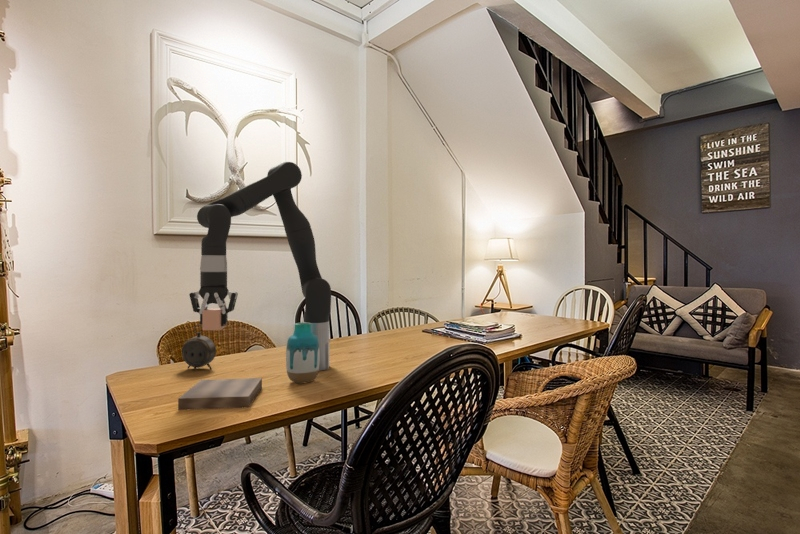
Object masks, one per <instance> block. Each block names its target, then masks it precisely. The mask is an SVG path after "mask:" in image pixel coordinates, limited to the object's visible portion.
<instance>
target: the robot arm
mask: <svg viewBox="0 0 800 534" xmlns="http://www.w3.org/2000/svg"><path fill="white" fill-rule="evenodd" d="M302 176H303V174H302V170H301V168H300V166H298V165H297V164H296V163H295V162H292V161H284V162H280V163H279V164H277V165H274V166H272V167H271V168H269V169H268V171H267V174H266V176H265V177H263V178H261V179H259V180H257V181H255V182H252V183H249V184H248V185H245V186H243V187H240V188H239V189H237V190H235V191H233V192H232V193H229V194H228V195H227V196H224V197H223V198H220V199H217V200H215V201H212V202H209V203H207V204H205V205H203V206H202V207H200V209H199V210H198V211H197V214H196V219H197V222H198V224H199V226H202V227H203V228H205V229H207V234H206V235H205V236H203V237H202V239H201V244H200V245H201V246H200V247H201V249H200V250H201V252H200V253H201V257H200V265H199V266H200V268H199V271H200V273H199V275H200V276H199V278H200V279H199V281H200V288H199V290H198V291H195V292H193V291H192V292H190V293H189V295H188V296H189V298H190V299H189V300H190V303H191V307H192V311H193V313H198V314H199V321H200V322H199V325H202V310H205V309H209V306H210V304H215V305H217V306H218V308H219V309H220V310H221V312H222V314H221V326H225V327H226V325H227V324H228V315H229V313H231V312H233V311H234V310H235V306H236V303H237V299H238V294H239V293H238V292H235V291H230V290H229V289H228V259H227V241H228V238H229V233H230V230H231V224H232V218H233V217H238V216H241V215H243V214H245V213H246V212H248V211H249V210H251V209H253V208H254V207H255V206H257V205H259V204H260V203H262V202H264V201H266V200H267V199H269V198H270V197H272V196H273V198H274V201H275V203H276V206H277V209H278V211H279V215H280V218H281V222H282V224H283V227H284V232H285V236H286V239H287V242H288V245H289V248H290V251H291V254H292V257H293V260H294V261H295V264H296V267H297V268H296V269H297V271H298V274H299V276H298V277H299V280H300V285H301V286H300V287H301V292H302V295H303V297H304V298H305V310H304V314H303V322H307V323H311V325H312V333H313V334H314V335H316V336H317V338H318V340H319V350H320V361H319V372H320V371H325V370H327V371H328V370H329V369H330V316H331V312H332V310H331V308H332V307H331V306H332V289H331V284H330V283H329V282H328V281H327V280H326V279H325V278H323V277H322V275H321V273H320V269H319V267H318V264H317V254H316V243H315V236H314V233H313V229H312V226H311V224H310V222H309V219H308V218H307V217H306V215H305V214H304V213H303V212H302V211H301V210H300V208H299V207H298V206H297V204H296V202H295V199H294V197H293V194H292V193H293V192H292V189H293V188H296V187H297V186H299V184H300V183H301V181H302ZM227 296H228V299H229V302H228V307H227V303H226V300H225V299H226V298H227ZM199 297H201V298H202V302H201V304H200V303H199Z"/></svg>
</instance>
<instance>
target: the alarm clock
mask: <svg viewBox="0 0 800 534" xmlns="http://www.w3.org/2000/svg"><path fill="white" fill-rule="evenodd" d="M196 327H200V328H202V324H196V325H194V327H193V332H194V333H195V334H196V336H194V337H191V338H189V339H187V340H186V341H185V342H184V343H183V345H182V349H181V356H182V358H183V360H184V362H185V363H186V364H187V365H188V366H187V369H190V368H191V367H192V368H193V371H194V372H195V371H196V370H197V369H198V368H203V367H204V366H207V367H208V368H209V369H210V370H212V369H213V368H212V366H211V364H210V363H211V362H212V361H214V359H215V357H216V354H217V350H216V349H217V348H216V345H215V343H214V341H213V340H212V339H211V338H209V337H207V336H205V335H201V334H202V333H203V331H204V330H201V331H198V332H197V331H196V329H195V328H196Z"/></svg>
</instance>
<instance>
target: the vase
mask: <svg viewBox="0 0 800 534" xmlns="http://www.w3.org/2000/svg"><path fill="white" fill-rule="evenodd" d="M293 327H294V329H293V333H292V335H290V336H289V337H288V338H287V341H286V347H285V348H286V349H285V351H286V352H285V362H286V373H287V377H288V379H289V380H290V381H291V382H293V383H295V384H296V383H297V384H306V383H307V384H308V383H311V382H312V381H314V380H315V379H316V378H317V376H318V374H319V372H320V371H319V361H320V350H319V340H318V338H317V336H316V335H314V334H313V333H312V325H311V323H307V322H304V321H303V322H302V321H301V322H296V323H294V326H293Z"/></svg>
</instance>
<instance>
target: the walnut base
mask: <svg viewBox="0 0 800 534" xmlns="http://www.w3.org/2000/svg"><path fill="white" fill-rule="evenodd" d="M262 385H263V379H262V378H261V377H259V378H258V377H255V378H221V379H220V378H219V379H218V378H216V379H200V380H199V381H198V382H196V383H195V384H194V385H193V386H191V388H189V389H188V390H187V391H185V392H184V393H183V394H182V395H180V397H178V398H177V400H178V401H177V405H178V406H177V409H178V411H182V410H183V411H184V410H187V409H190V410H208V409H209V410H213V409H214V410H216V409H218V408H219V409H241V408H242V407H243V409H244V407H250V406H251V405H252V404H253V402H254V401H255V400H256V397H257V396H258V394H259V393H260V391H261V390H262V388H263V386H262Z"/></svg>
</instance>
